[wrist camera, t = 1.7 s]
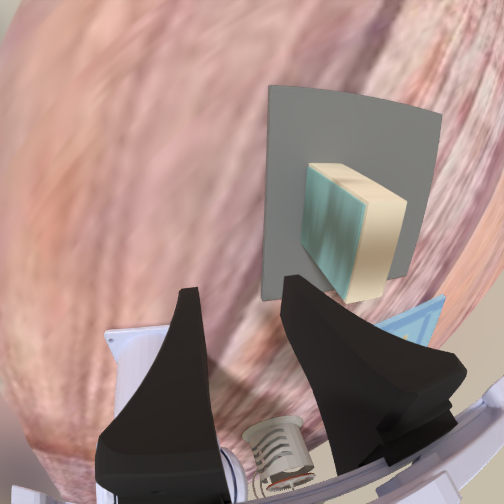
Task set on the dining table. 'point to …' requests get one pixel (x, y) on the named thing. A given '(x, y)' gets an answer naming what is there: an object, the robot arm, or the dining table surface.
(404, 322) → the folded blue cloth
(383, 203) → the beige and teal block
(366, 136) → the mat
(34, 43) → the dining table surface
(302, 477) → the french press
